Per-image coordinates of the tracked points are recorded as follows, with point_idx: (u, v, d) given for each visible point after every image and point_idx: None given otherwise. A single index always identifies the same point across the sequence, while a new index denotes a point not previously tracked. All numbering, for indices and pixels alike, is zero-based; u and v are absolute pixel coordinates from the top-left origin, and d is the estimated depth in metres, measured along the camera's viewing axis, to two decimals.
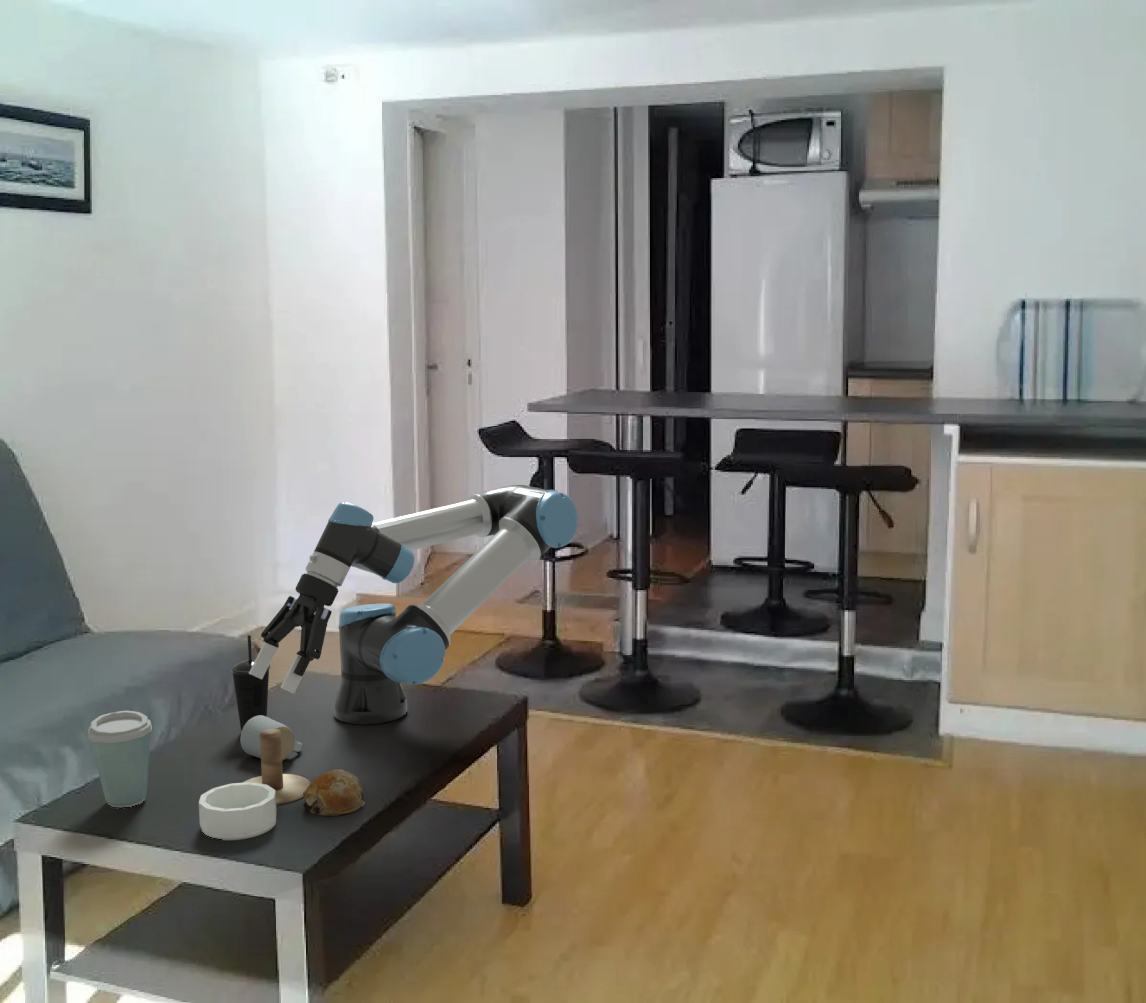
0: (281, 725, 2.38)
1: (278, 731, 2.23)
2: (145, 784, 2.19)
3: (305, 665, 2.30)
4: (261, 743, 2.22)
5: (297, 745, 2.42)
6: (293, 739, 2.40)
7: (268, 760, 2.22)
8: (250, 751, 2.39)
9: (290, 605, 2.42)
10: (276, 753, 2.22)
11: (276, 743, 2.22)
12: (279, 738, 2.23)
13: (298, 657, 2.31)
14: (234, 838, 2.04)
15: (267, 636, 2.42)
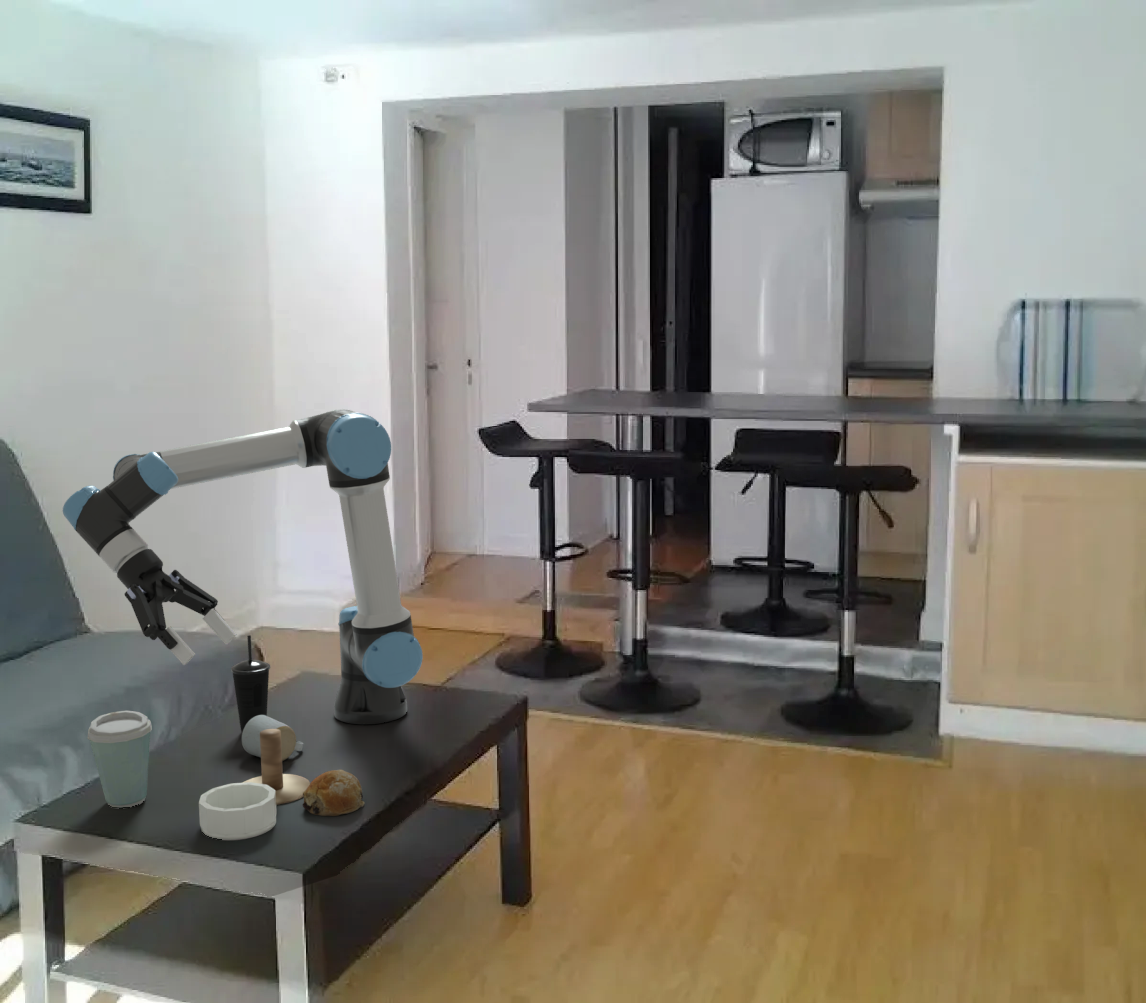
0: (282, 725, 2.39)
1: (278, 731, 2.23)
2: (145, 784, 2.19)
3: (164, 637, 2.16)
4: (261, 743, 2.22)
5: (298, 745, 2.42)
6: (294, 739, 2.40)
7: (268, 760, 2.22)
8: (251, 751, 2.39)
9: None
10: (277, 753, 2.22)
11: (276, 743, 2.22)
12: (279, 738, 2.23)
13: None
14: (234, 838, 2.04)
15: None
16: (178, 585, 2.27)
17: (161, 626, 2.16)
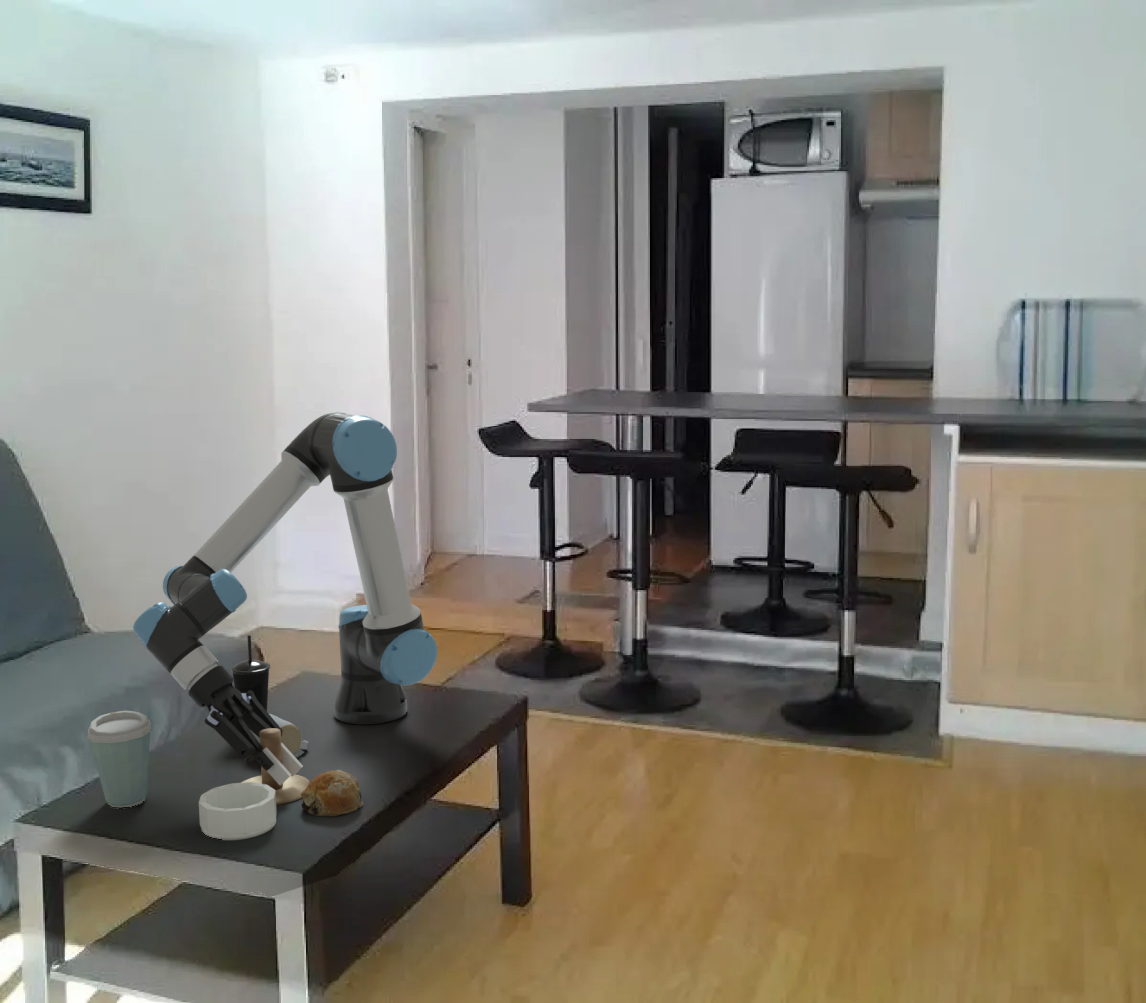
0: (287, 723, 2.40)
1: (278, 730, 2.23)
2: (145, 784, 2.19)
3: (261, 759, 2.20)
4: (261, 742, 2.22)
5: (303, 743, 2.43)
6: (299, 737, 2.41)
7: None
8: None
9: None
10: (276, 753, 2.22)
11: (276, 743, 2.22)
12: (279, 737, 2.23)
13: None
14: (234, 838, 2.04)
15: None
16: (248, 705, 2.26)
17: (259, 749, 2.20)
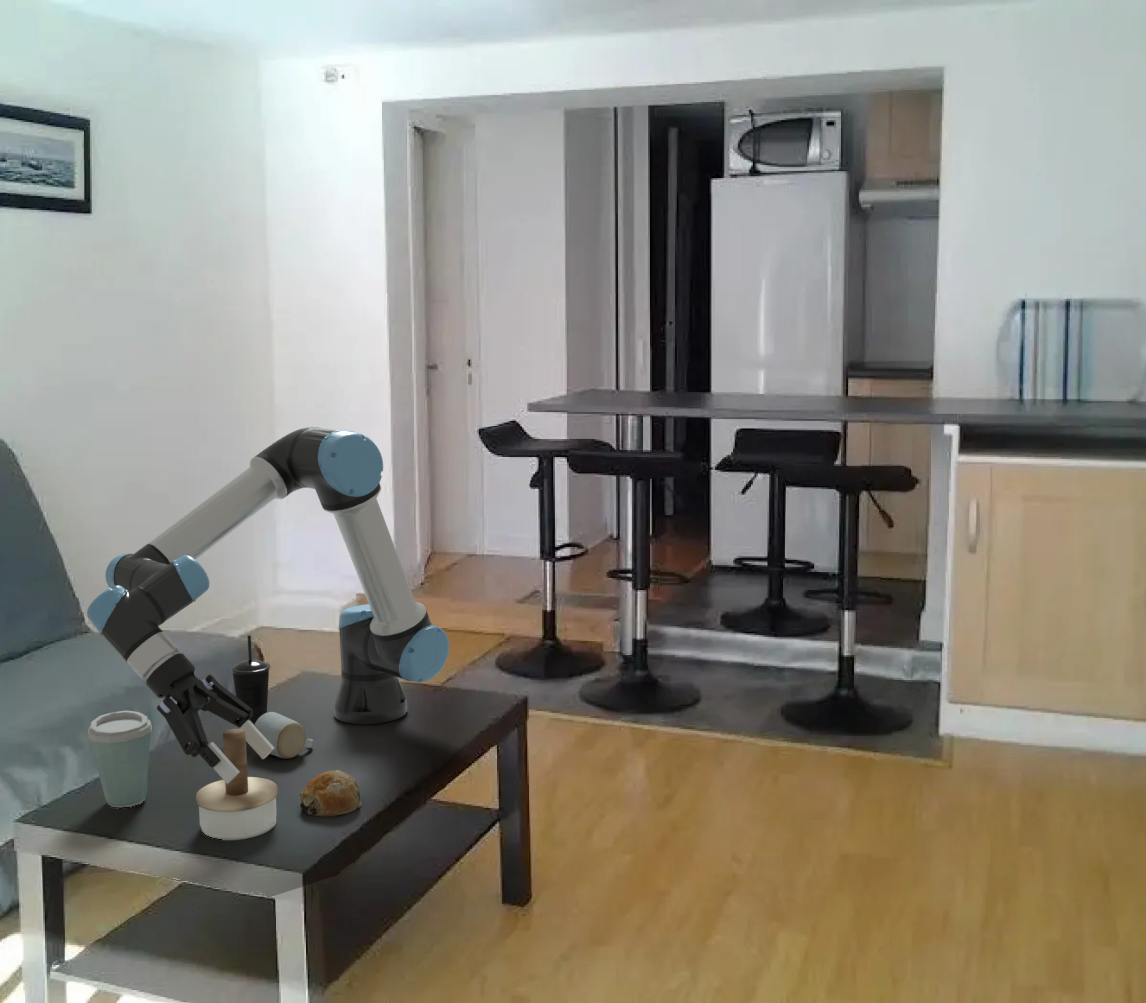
0: (292, 721, 2.40)
1: (242, 731, 2.08)
2: (145, 784, 2.19)
3: (206, 755, 2.01)
4: (224, 744, 2.07)
5: (308, 741, 2.44)
6: (304, 735, 2.42)
7: (231, 762, 2.07)
8: None
9: None
10: (241, 755, 2.07)
11: (240, 744, 2.07)
12: (243, 739, 2.07)
13: None
14: (234, 838, 2.04)
15: None
16: (211, 692, 2.11)
17: (203, 743, 2.01)
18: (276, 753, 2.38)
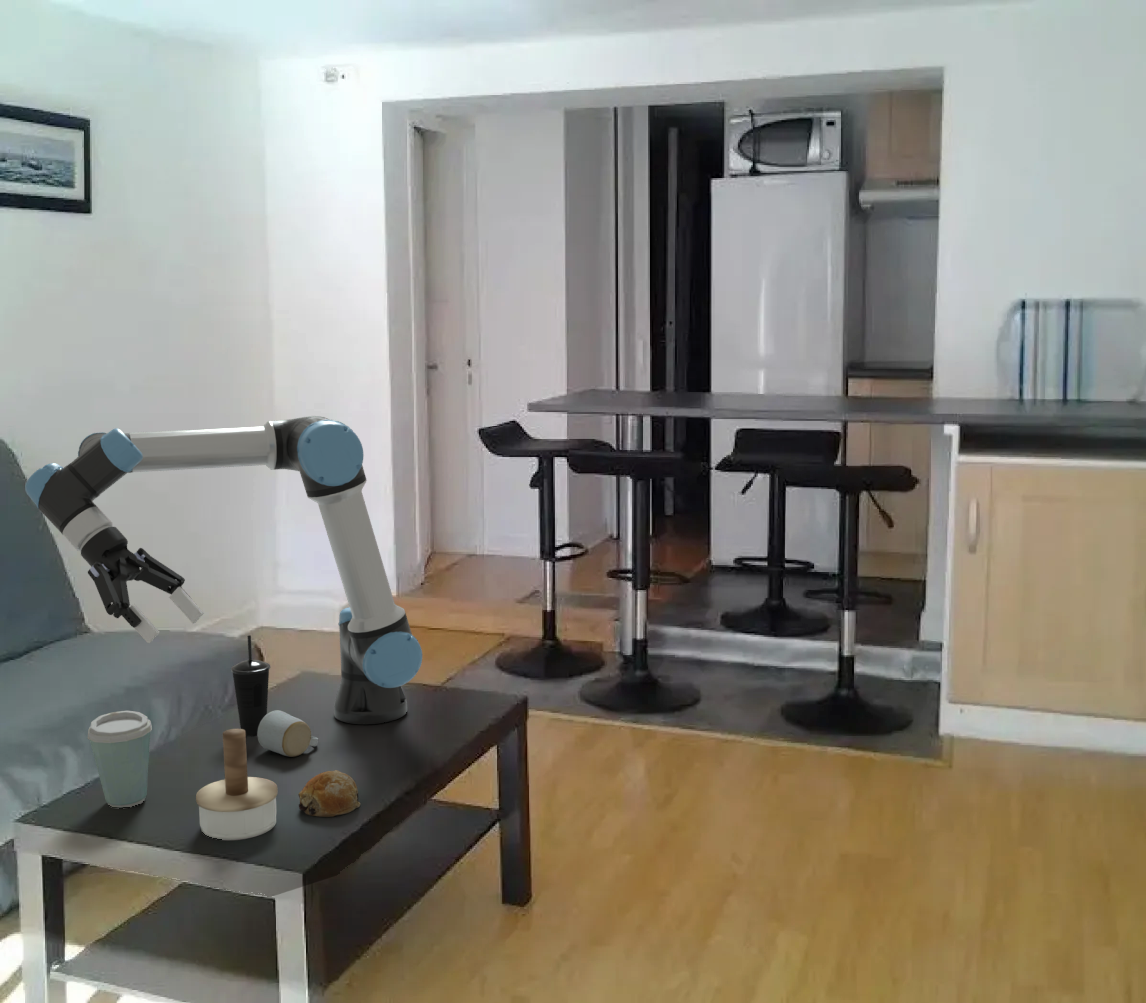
0: (298, 720, 2.41)
1: (242, 731, 2.08)
2: (145, 784, 2.19)
3: (128, 615, 2.13)
4: (224, 744, 2.07)
5: (313, 740, 2.45)
6: (309, 734, 2.43)
7: (231, 762, 2.07)
8: (267, 745, 2.42)
9: None
10: (241, 755, 2.07)
11: (240, 744, 2.07)
12: (243, 739, 2.07)
13: None
14: (234, 838, 2.04)
15: None
16: (143, 563, 2.24)
17: (124, 604, 2.13)
18: (281, 751, 2.39)
